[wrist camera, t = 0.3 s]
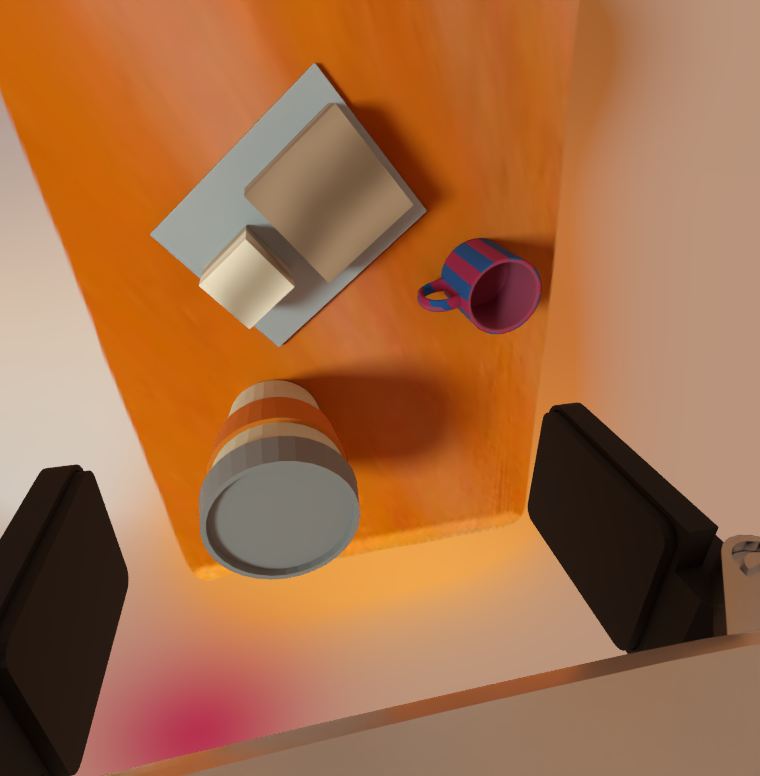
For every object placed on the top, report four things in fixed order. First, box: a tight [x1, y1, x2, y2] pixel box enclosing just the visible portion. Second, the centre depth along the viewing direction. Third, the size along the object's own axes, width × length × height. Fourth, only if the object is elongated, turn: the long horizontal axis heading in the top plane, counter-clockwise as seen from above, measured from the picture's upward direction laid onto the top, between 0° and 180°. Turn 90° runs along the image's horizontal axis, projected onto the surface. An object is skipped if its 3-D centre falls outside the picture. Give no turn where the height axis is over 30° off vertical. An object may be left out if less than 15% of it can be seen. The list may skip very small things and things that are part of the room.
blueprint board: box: [150, 63, 427, 347], centre depth 42 cm, size 14×18×1 cm
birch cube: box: [199, 225, 294, 329], centre depth 41 cm, size 5×5×5 cm
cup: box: [417, 238, 541, 334], centre depth 45 cm, size 7×10×7 cm
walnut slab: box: [244, 103, 413, 283], centre depth 40 cm, size 9×9×4 cm
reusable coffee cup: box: [199, 380, 360, 579], centre depth 45 cm, size 13×13×15 cm
